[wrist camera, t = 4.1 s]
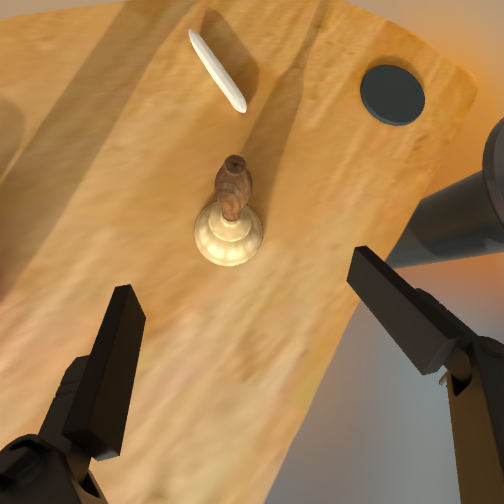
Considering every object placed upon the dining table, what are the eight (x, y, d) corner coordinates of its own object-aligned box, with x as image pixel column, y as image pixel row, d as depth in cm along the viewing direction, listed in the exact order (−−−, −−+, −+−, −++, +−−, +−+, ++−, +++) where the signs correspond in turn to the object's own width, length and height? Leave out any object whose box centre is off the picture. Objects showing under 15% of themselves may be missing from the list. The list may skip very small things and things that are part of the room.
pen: (194, 36, 34) (192, 23, 32) (249, 113, 32) (250, 103, 31) (184, 40, 33) (182, 27, 32) (239, 118, 32) (240, 108, 30)
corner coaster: (420, 74, 37) (423, 71, 37) (423, 130, 35) (426, 128, 35) (360, 62, 36) (362, 58, 36) (360, 119, 34) (362, 116, 34)
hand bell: (271, 253, 29) (327, 206, 14) (206, 275, 28) (185, 250, 12) (249, 193, 30) (277, 84, 15) (185, 211, 29) (141, 112, 13)
